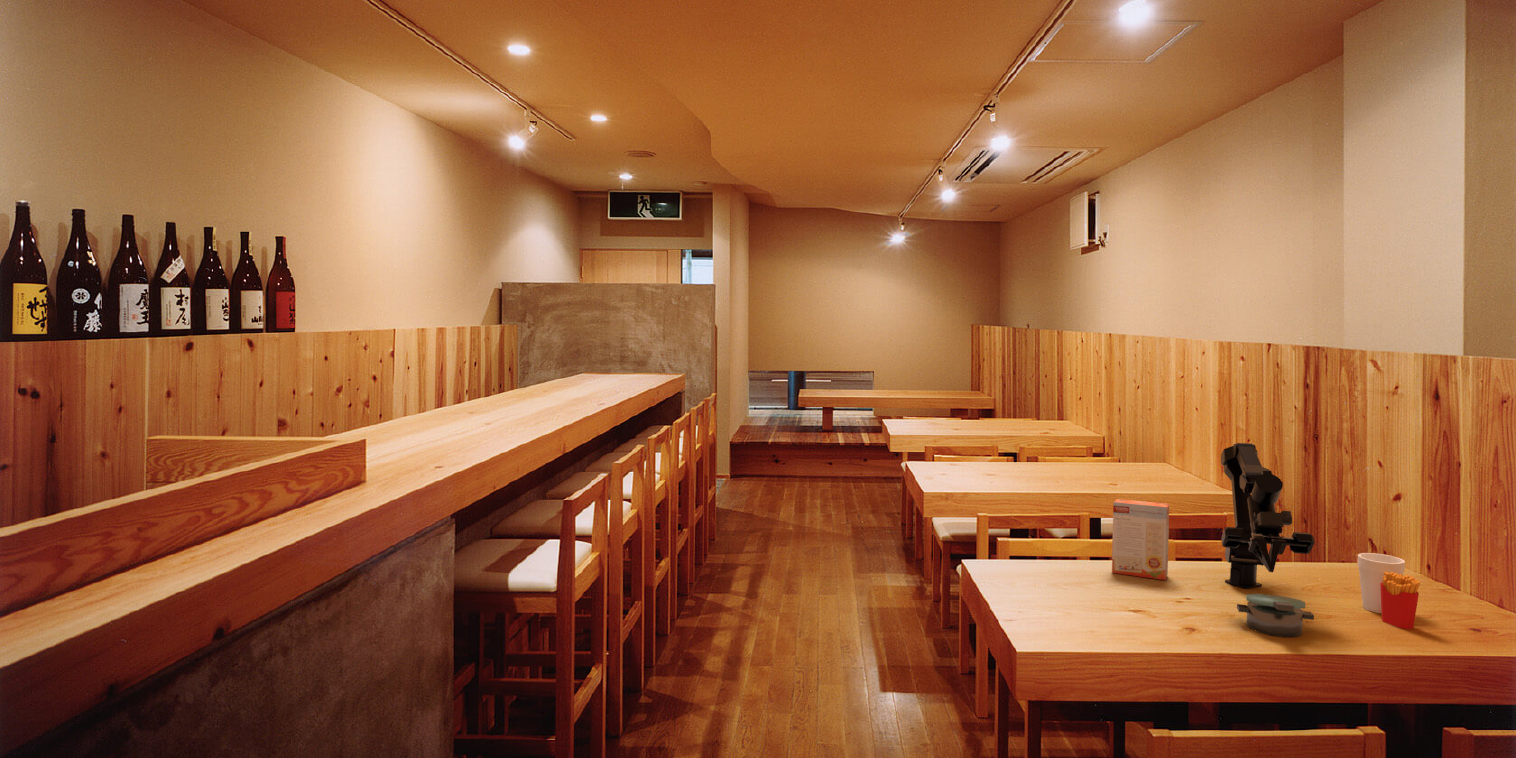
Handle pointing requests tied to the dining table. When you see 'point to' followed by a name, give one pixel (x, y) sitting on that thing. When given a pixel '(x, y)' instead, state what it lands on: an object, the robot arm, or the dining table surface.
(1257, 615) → the cooker pot
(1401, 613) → the french fries
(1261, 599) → the lid
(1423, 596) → the dining table surface
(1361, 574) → the foam cup
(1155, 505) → the cracker box
